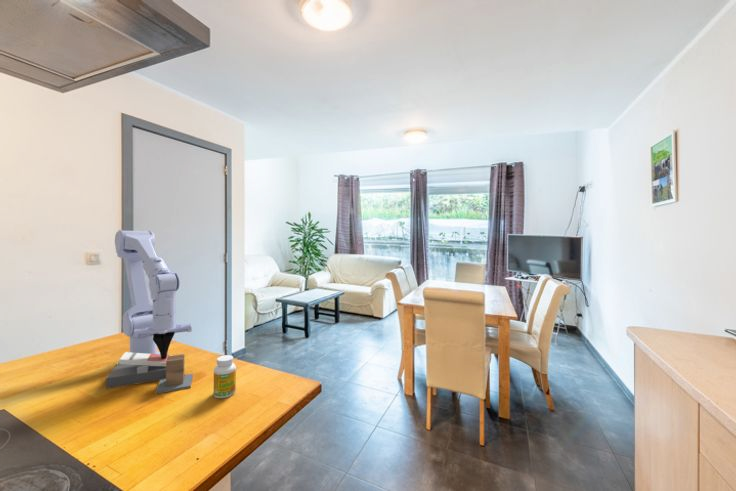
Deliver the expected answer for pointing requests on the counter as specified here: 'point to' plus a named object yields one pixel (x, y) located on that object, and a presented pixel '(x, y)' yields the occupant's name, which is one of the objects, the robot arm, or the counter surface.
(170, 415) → the counter surface
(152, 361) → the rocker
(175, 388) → the mat
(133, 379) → the switch housing
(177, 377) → the brown rectangular block
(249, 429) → the counter surface
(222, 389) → the supplement bottle
